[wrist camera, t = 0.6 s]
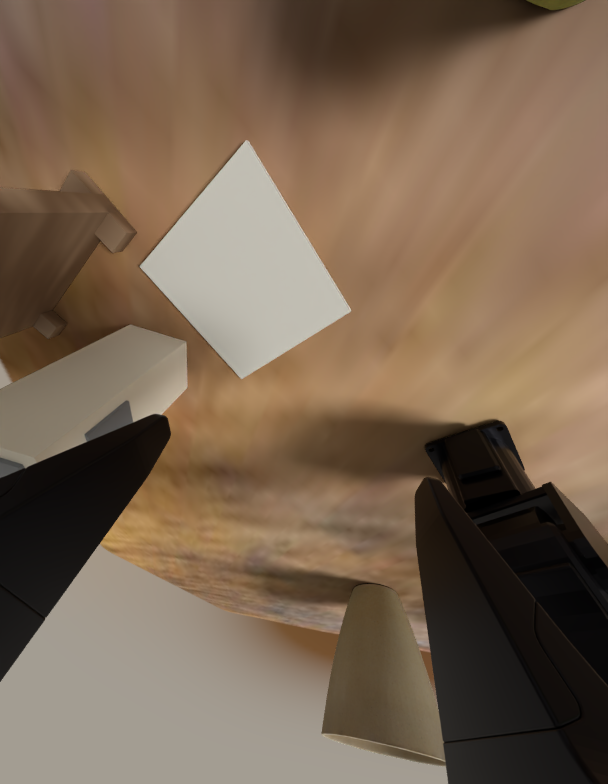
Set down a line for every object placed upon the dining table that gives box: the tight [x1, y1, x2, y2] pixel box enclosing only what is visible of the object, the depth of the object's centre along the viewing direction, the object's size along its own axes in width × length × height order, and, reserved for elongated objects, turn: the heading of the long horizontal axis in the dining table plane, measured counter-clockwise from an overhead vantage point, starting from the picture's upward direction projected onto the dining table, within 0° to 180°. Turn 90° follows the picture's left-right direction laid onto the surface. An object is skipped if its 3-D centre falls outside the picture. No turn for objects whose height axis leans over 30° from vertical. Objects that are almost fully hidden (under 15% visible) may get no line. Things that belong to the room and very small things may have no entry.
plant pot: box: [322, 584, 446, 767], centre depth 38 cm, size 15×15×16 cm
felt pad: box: [140, 140, 351, 379], centre depth 19 cm, size 11×11×1 cm
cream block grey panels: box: [0, 325, 188, 478], centre depth 18 cm, size 5×5×13 cm
